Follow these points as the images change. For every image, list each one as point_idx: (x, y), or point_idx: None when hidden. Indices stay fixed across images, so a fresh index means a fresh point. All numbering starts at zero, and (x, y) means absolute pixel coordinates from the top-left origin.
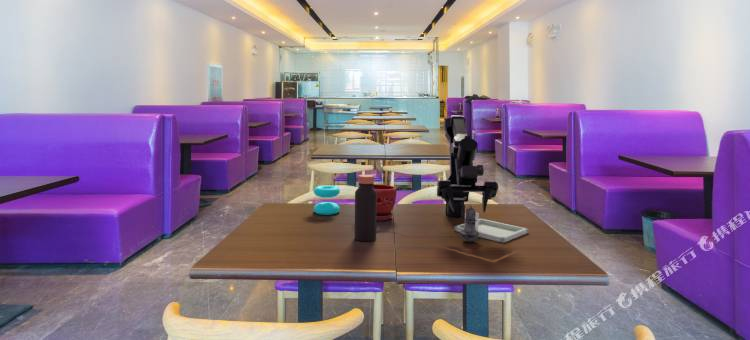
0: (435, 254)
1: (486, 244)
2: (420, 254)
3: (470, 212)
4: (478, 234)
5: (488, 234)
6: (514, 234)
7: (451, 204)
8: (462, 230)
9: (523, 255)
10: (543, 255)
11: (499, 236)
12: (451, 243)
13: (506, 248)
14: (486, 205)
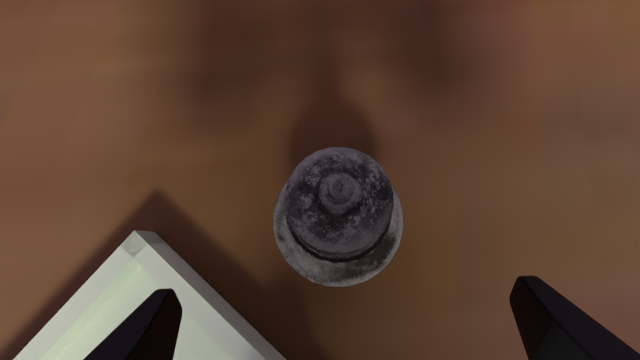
0: (517, 35)
1: (244, 225)
2: (588, 26)
3: (348, 148)
4: (286, 181)
5: (205, 305)
6: (35, 339)
7: (617, 352)
8: (384, 253)
9: (110, 76)
10: (20, 88)
11: (147, 265)
12: (435, 219)
13: (156, 169)
14: (97, 347)
